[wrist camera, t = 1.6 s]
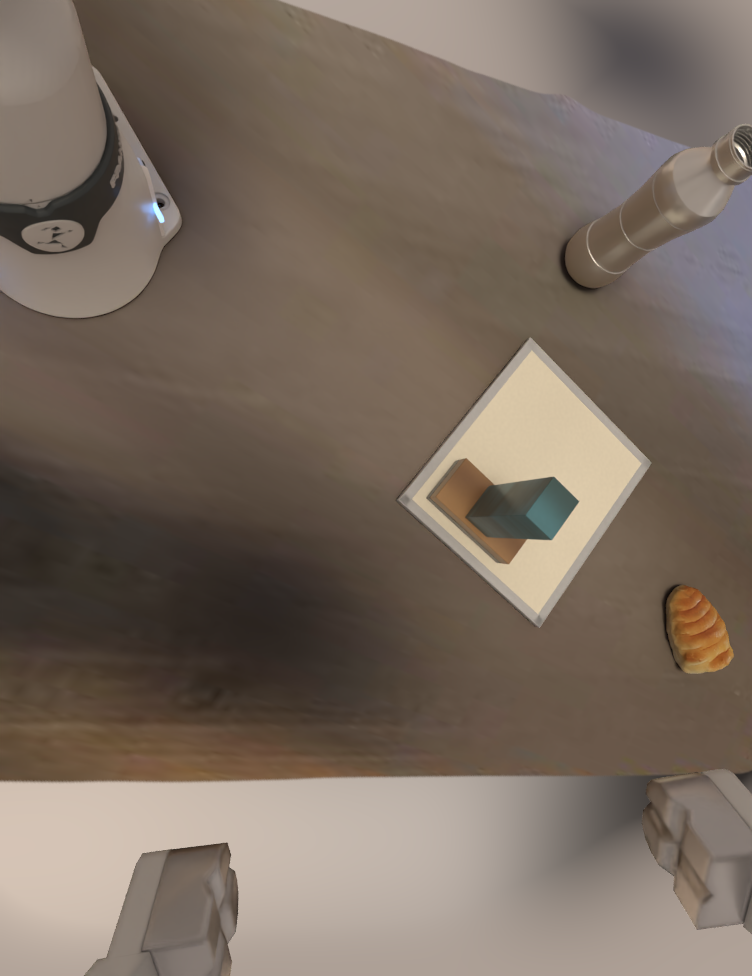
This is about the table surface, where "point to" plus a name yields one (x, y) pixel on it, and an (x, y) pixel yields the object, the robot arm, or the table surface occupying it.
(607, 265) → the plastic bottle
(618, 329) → the table surface
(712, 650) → the pastry
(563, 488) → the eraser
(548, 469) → the whiteboard
